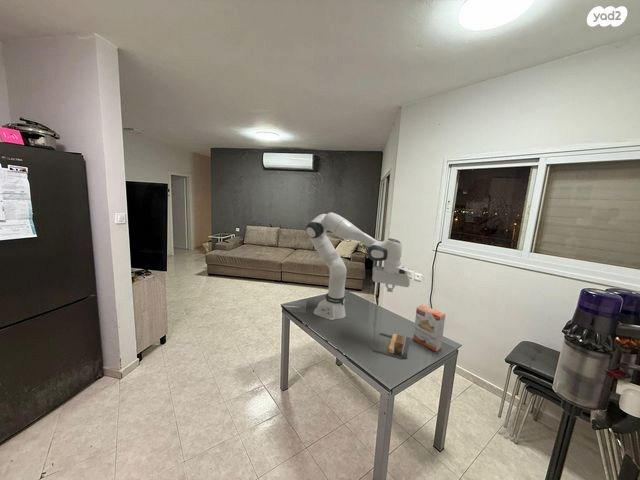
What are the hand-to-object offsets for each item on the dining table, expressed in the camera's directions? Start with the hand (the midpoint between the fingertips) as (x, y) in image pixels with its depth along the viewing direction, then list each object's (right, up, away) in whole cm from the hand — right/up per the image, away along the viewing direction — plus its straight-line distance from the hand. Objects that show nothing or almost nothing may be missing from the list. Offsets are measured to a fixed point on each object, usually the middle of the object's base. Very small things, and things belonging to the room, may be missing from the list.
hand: (389, 291), depth 139 cm
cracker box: (+21, -30, +1) cm, 37 cm away
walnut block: (+3, -31, -5) cm, 31 cm away
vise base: (+1, -30, -2) cm, 30 cm away
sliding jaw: (+1, -30, -2) cm, 30 cm away
